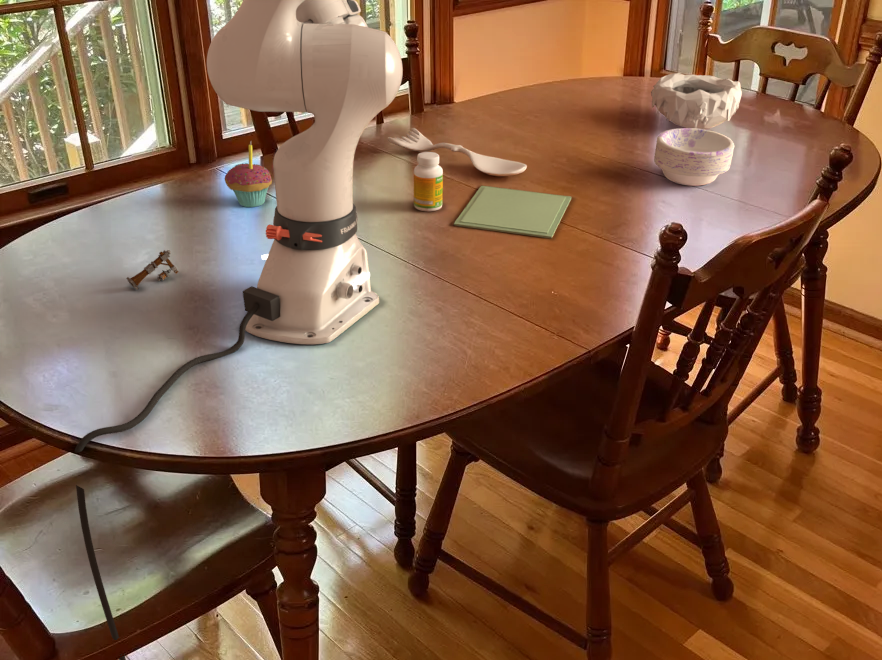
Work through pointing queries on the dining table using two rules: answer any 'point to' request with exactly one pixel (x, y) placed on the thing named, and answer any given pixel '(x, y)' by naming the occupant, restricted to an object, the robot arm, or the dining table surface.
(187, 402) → the dining table surface
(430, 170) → the supplement bottle
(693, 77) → the bowl
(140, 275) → the wooden post with brackets
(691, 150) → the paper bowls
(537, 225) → the placemat
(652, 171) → the dining table surface
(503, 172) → the white spork utensil
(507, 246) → the dining table surface
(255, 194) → the cupcake
